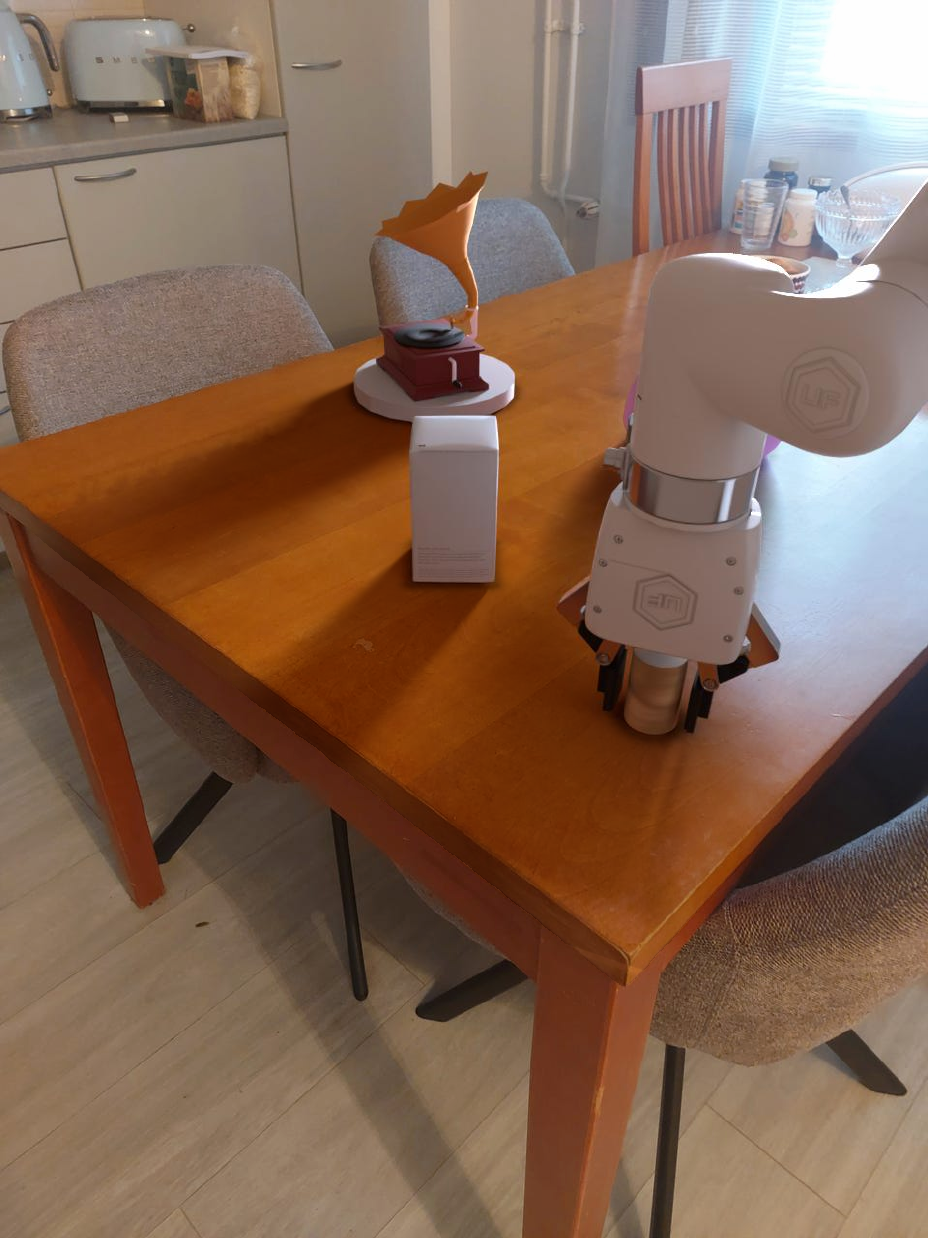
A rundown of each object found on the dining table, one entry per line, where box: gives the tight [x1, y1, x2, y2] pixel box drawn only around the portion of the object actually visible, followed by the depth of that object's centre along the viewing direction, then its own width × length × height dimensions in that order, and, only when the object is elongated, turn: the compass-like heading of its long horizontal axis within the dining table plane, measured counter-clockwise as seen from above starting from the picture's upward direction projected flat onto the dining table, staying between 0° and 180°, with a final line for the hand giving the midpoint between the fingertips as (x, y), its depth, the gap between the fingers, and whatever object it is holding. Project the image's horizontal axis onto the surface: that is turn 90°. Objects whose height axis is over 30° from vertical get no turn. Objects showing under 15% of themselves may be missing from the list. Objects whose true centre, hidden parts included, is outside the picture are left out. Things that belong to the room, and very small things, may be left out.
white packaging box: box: [408, 415, 500, 584], centre depth 77 cm, size 7×7×13 cm
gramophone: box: [352, 170, 516, 423], centre depth 107 cm, size 20×20×25 cm
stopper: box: [623, 647, 690, 736], centre depth 62 cm, size 4×4×6 cm
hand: (651, 708), depth 63 cm, fingers open, 5 cm apart
